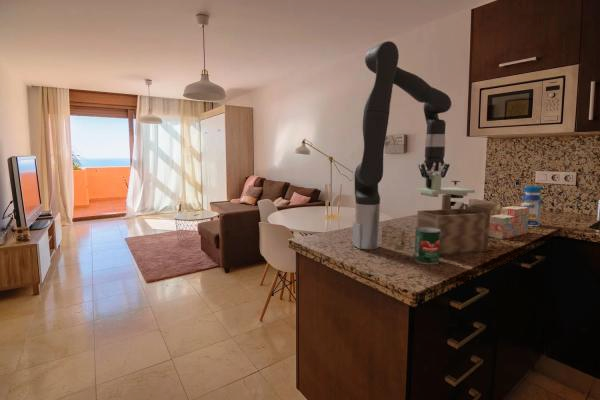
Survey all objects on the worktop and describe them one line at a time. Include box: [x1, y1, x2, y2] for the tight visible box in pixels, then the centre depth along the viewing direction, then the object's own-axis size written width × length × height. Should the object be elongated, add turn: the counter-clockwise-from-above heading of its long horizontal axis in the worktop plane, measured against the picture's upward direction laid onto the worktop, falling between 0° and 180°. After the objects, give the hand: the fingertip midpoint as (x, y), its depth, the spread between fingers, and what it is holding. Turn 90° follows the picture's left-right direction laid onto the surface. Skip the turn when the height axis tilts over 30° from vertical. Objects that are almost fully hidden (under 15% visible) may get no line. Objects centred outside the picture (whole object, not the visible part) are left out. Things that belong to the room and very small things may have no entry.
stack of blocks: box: [489, 205, 529, 240], centre depth 146 cm, size 21×6×12 cm, turn 121°
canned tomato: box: [413, 226, 441, 265], centre depth 110 cm, size 8×8×11 cm
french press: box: [449, 180, 469, 209], centre depth 164 cm, size 12×9×23 cm
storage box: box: [416, 208, 486, 257], centre depth 122 cm, size 20×12×14 cm, turn 104°
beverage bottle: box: [520, 185, 543, 227], centre depth 166 cm, size 8×8×20 cm
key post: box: [466, 205, 492, 252], centre depth 125 cm, size 4×8×16 cm, turn 14°
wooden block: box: [440, 194, 464, 210], centre depth 150 cm, size 4×11×18 cm, turn 113°
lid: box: [414, 174, 476, 198], centre depth 136 cm, size 20×12×9 cm, turn 104°
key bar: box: [468, 198, 501, 211], centre depth 124 cm, size 3×12×2 cm, turn 14°
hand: (432, 187), depth 135 cm, fingers closed on lid, 3 cm apart
